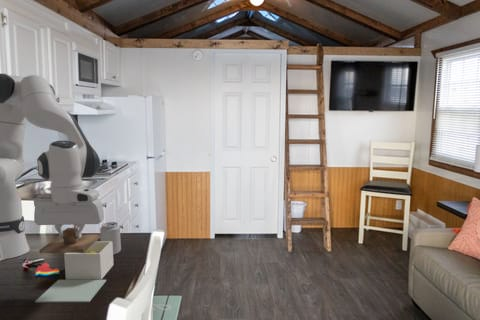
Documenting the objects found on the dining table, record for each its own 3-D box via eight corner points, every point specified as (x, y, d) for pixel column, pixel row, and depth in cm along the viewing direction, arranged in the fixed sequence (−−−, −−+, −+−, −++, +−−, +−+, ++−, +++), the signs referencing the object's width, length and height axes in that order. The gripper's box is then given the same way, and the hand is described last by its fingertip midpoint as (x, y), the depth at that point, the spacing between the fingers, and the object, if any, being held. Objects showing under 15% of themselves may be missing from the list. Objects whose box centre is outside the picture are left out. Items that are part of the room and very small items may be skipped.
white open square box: (65, 279, 124) (64, 254, 123) (81, 264, 136) (79, 241, 135) (101, 279, 124) (100, 253, 123) (113, 264, 136) (112, 241, 135)
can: (124, 249, 151) (122, 221, 150) (116, 256, 144) (114, 227, 142) (106, 249, 152) (105, 220, 150) (97, 256, 144) (96, 226, 143)
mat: (35, 302, 109) (35, 301, 109) (58, 280, 123) (58, 279, 123) (89, 302, 109) (89, 300, 109) (106, 280, 123) (106, 279, 123)
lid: (39, 253, 108) (38, 236, 107) (60, 238, 121) (59, 223, 120) (83, 252, 108) (82, 236, 107) (100, 237, 121) (99, 222, 120)
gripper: (27, 197, 109) (31, 241, 111) (96, 196, 109) (99, 240, 111) (39, 192, 115) (42, 234, 117) (104, 191, 115) (106, 233, 117)
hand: (70, 237), depth 114 cm, fingers closed on lid, 3 cm apart
